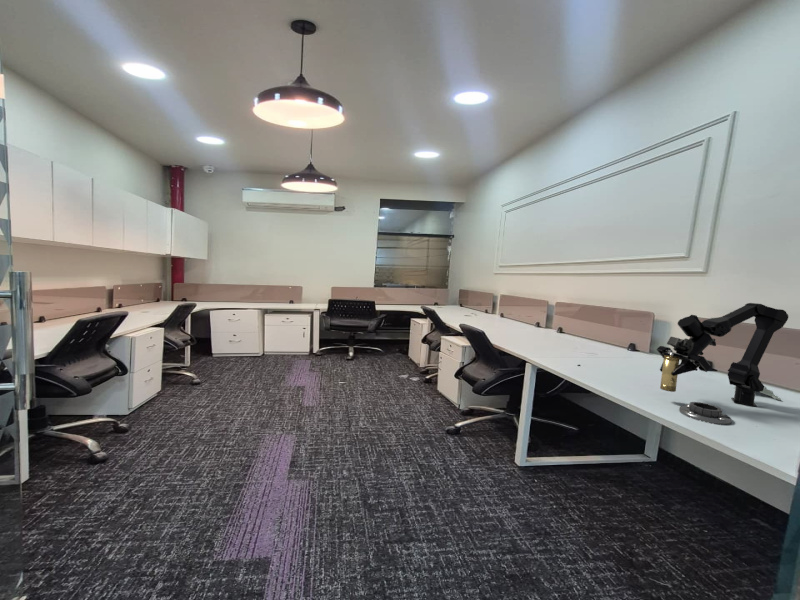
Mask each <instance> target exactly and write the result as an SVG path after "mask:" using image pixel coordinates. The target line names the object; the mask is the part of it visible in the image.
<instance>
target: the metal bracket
mask: <svg viewBox="0 0 800 600" xmlns="http://www.w3.org/2000/svg"><path fill="white" fill-rule="evenodd" d="M735 388H736V386H735V387H734V389H735ZM759 393H761V394H763V395H766V396H769V397H772V399H775V400H778V401H780V400H781V397H779V396H777V395H776V394H775V395H776V396H775V395H774V391H772V390H770V389H768V388H767V387H766V386H765V385H764V389H763V391H760V392H759ZM778 397H779V398H778Z"/></svg>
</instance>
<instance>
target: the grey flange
mask: <svg viewBox="0 0 800 600" xmlns="http://www.w3.org/2000/svg"><path fill="white" fill-rule="evenodd" d="M678 411H679V413H681V414H682V415H684V416H685V417H688V418H690V417H691V418H690V419H694V420H696V421H699V420H701V422H703V421H705V422H704V423H707V422H709V423H708V424H712V423H714V425H720V424H721V426H727V425H731V424H732V420H733V419H732V418H731V417H730V416H728V415H727V414H725V413H723V410H722V408H720V407H719V406H716V405H713V404H711V403H705V402H700V401H691V402H689V404H687V405H680V406H679V409H678Z"/></svg>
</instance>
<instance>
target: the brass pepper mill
mask: <svg viewBox="0 0 800 600" xmlns="http://www.w3.org/2000/svg"><path fill="white" fill-rule="evenodd" d="M662 363H663V368H662V372H661V380H660V387H659V389H661V390H662V391H666V392H671V393H672V392H674V393H675V392H676V391H677V383H678V375H679V374H678V375H675V376H673V375H672V374H671V373H672V372H673V371H674V370H675V369H676V368H677V366H678V365H679V364H680V358H679V357H676V356H674V353H671V352H670V355H664V358H663V360H662Z"/></svg>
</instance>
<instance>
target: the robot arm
mask: <svg viewBox="0 0 800 600" xmlns="http://www.w3.org/2000/svg"><path fill="white" fill-rule="evenodd" d="M751 318H754V323H755V327H756V328H755V331H754V332H753V335H752V337H751V339H750V341H749V343H748V344H747V346H746V349H745V351H744V354H743V355H742V357H741V360H740V361H739V360H738V361H737V362H734V361H732V363H730V366H729V368H728V369H727V377H728V382H729V385H731V386H735V387H736V388H735V387H734V389H735V390H734V396H733V397H730V398H731V401H732V402H733V403H735V404H740V405H744V406H745V405H746V406H751V407H756V408H757V407H758V405H757V403H755V399H756V398H755V397H756V393H761V392H760V391H763V389H764V388H765V387H764V386H765V385H764V384H763V383H762V382H761V381H762V380H760V375H761V372H760V369H759V364H760V362H761V360H762V358H763V355H764V354H765V352H766V349H767V348H768V345H769V344H770V341H771V339H772V337H773V336H774V333H775V332H778V331H779V330H780V329H782V328H783V327H784V326H785V324H786V323H787V321H788V319H789V314H788V313H787V311H786V310H784V309H780V308H774V307H770V306H768V305H765V304H762V303H756V302H755V303H754V302H749V303H746V304H744V306H741V307H739V308H737V309H735V310H733V311H730V312H729V313H727V314H725V315H723V316H720V317H710V318H708V319H705V320H703V321H702V322H701V320H700V319H699V317H698V316H697V315H695V314H690V315H689V316H685V317H683V318H680V319H679V320H678V321H677V326H678V327H679V329H681V330H682V332H683V333H684V335H685V336H687V337H688V338H680V337H674V336H670V337H669V339H668V341H667V342H666V345H668V346H664V345H660V346H659V347H657V348H656V351H657V352H658V354H659V355H660V356H661V358H663V359H664V355H670V352H671V353H674V356H676V357H679V358H680V359H679V361H681V362H679V365H678V366H677V368H676V369H675V370H674V371H673V372H672V373H671V374H672V375H673V376H675V375H681V374H686V373H690V372H694V371H698V370H700V371H702V372H706V373H708V371H709V370H710V369H711V368H712V367H711V364H710V362H709V361H708V360H707V359H706V358H705V356H703V355H704V352H703V351H704V350H706V349H707V347H708V346H713V347H716V346H717V343H716V342H717V341H716V339H715V338H713V337H718V338H722V337H725V335H727V334H729V333H730V332H731V331H732V328H734V327H735V326H737V325H739V324H741V323H744V322H745V321H747V320H749V319H751ZM712 336H713V337H712ZM689 337H690V338H689ZM669 346H671V347H673V348H671V347H669ZM673 350H674V351H673ZM662 368H663V362H662V364H661V366H660V368H659V371H660V372H661V373H662Z"/></svg>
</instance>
